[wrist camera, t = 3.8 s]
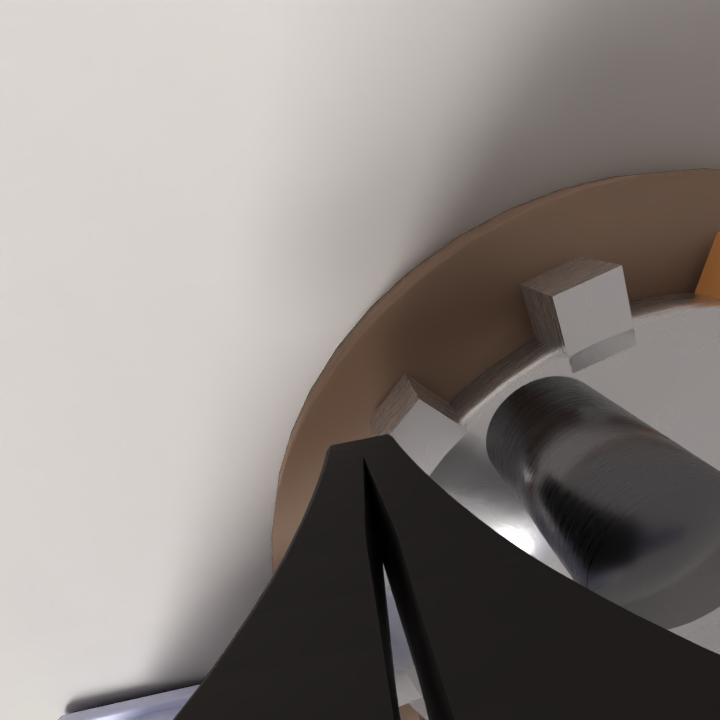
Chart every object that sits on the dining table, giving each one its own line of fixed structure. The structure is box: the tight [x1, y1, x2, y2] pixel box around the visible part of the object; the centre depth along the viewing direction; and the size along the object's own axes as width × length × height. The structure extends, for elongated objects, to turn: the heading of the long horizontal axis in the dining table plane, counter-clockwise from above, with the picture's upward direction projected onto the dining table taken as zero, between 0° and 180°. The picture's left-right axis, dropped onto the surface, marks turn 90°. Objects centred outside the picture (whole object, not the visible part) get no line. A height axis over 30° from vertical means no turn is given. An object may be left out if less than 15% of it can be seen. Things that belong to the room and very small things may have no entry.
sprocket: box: [369, 232, 720, 720], centre depth 11 cm, size 20×20×6 cm
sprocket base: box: [272, 169, 720, 720], centre depth 14 cm, size 23×23×3 cm
